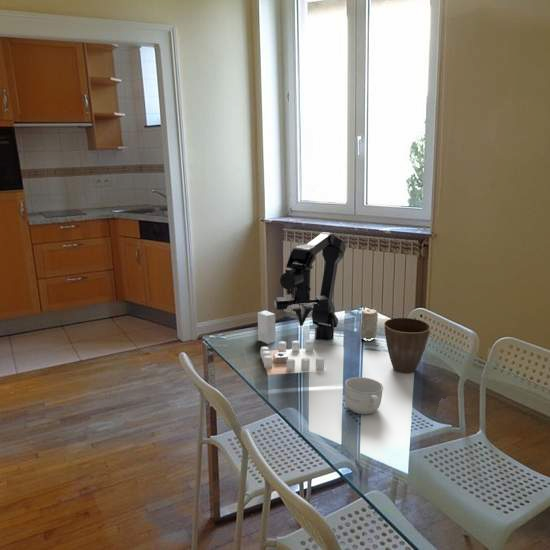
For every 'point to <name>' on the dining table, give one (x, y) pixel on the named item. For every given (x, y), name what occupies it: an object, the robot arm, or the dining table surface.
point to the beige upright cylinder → (368, 324)
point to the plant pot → (406, 342)
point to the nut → (280, 358)
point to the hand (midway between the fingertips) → (301, 325)
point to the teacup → (363, 394)
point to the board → (303, 355)
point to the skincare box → (266, 327)
